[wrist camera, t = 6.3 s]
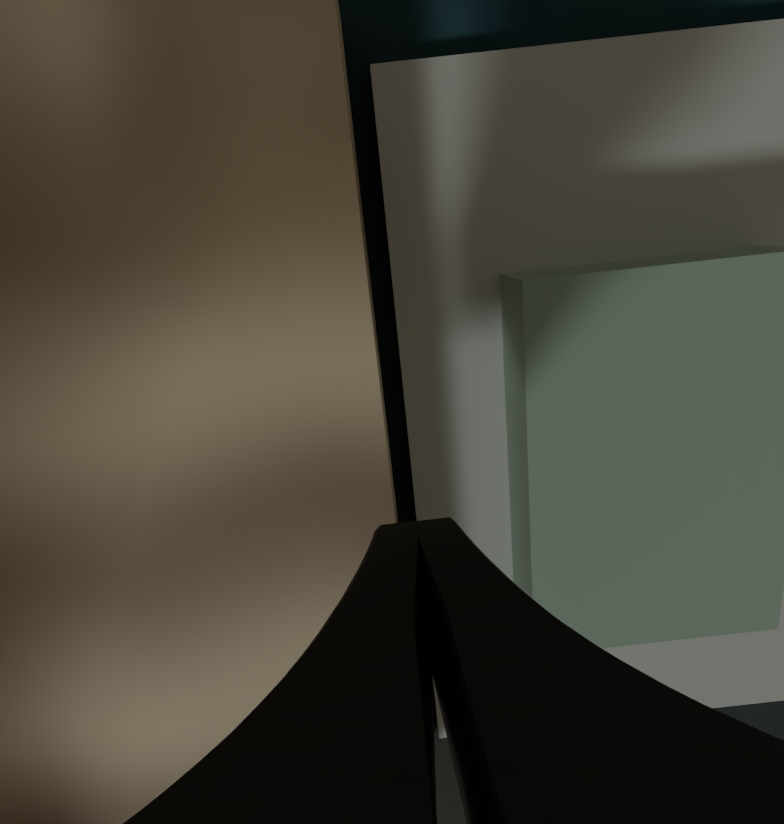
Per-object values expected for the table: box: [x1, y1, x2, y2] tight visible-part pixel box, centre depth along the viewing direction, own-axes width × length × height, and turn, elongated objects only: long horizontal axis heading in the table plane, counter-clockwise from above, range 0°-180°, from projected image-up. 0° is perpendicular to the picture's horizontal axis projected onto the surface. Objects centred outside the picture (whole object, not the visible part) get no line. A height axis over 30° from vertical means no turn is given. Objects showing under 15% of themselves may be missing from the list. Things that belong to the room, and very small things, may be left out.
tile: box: [500, 246, 784, 648], centre depth 13 cm, size 9×6×2 cm, turn 6°
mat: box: [370, 19, 784, 738], centre depth 14 cm, size 18×14×1 cm
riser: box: [0, 0, 398, 824], centre depth 12 cm, size 20×12×4 cm, turn 6°
